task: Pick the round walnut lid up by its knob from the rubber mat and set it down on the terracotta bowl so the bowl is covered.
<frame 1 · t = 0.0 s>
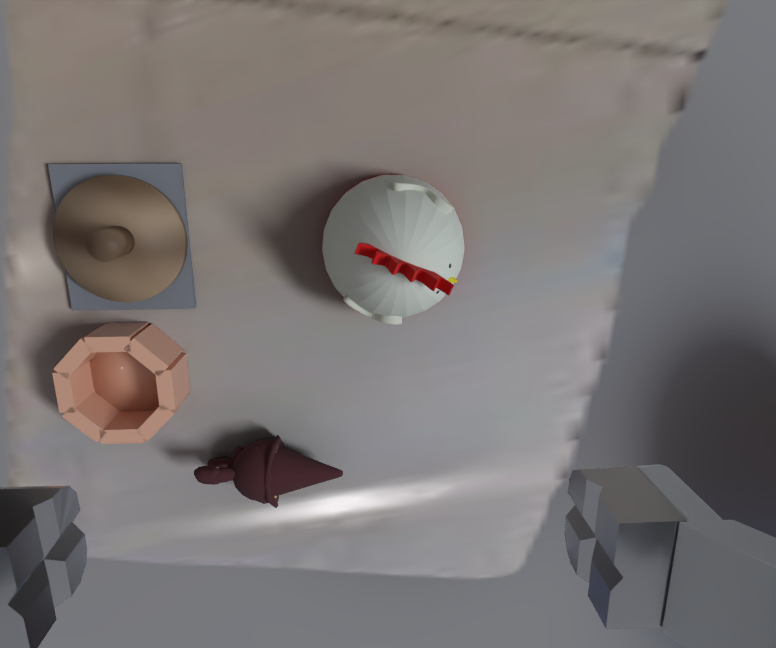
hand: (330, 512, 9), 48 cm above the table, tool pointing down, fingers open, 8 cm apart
lid: (124, 239, 54), point 1 cm above the table, touching mat
mat: (126, 238, 55), on the table
kitchen timer: (392, 245, 56), on the table
bowl: (134, 372, 58), on the table
icecream: (275, 453, 62), on the table
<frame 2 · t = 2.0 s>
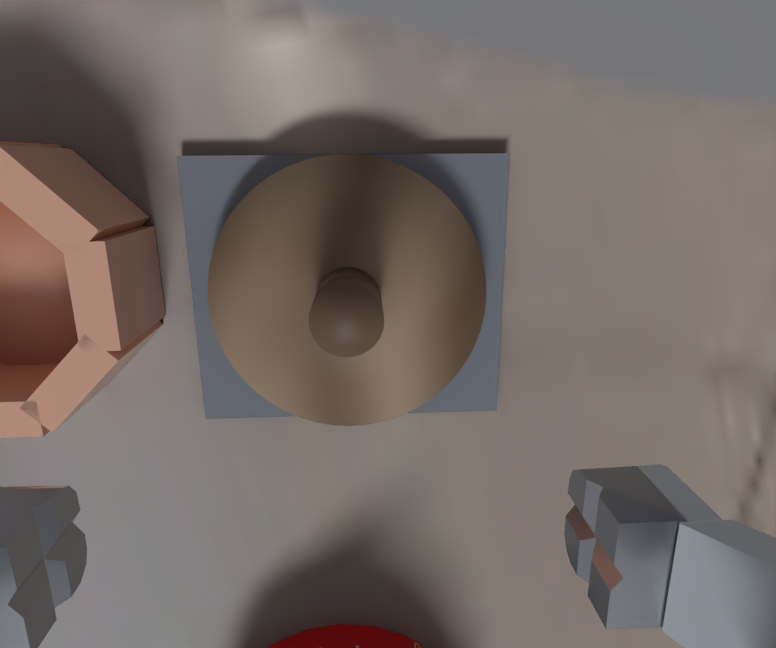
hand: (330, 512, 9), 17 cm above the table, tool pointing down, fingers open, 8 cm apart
lid: (349, 293, 25), point 1 cm above the table, touching mat
mat: (349, 290, 26), on the table
bowl: (35, 274, 25), on the table
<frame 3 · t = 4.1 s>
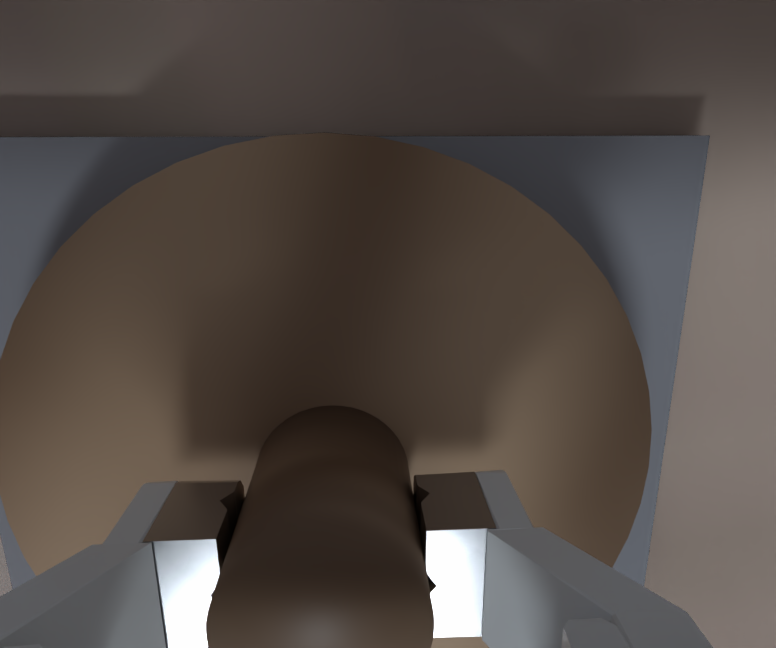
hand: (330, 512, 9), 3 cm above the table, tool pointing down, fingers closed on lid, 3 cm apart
lid: (335, 443, 11), point 1 cm above the table, touching gripper, mat
mat: (335, 430, 12), on the table
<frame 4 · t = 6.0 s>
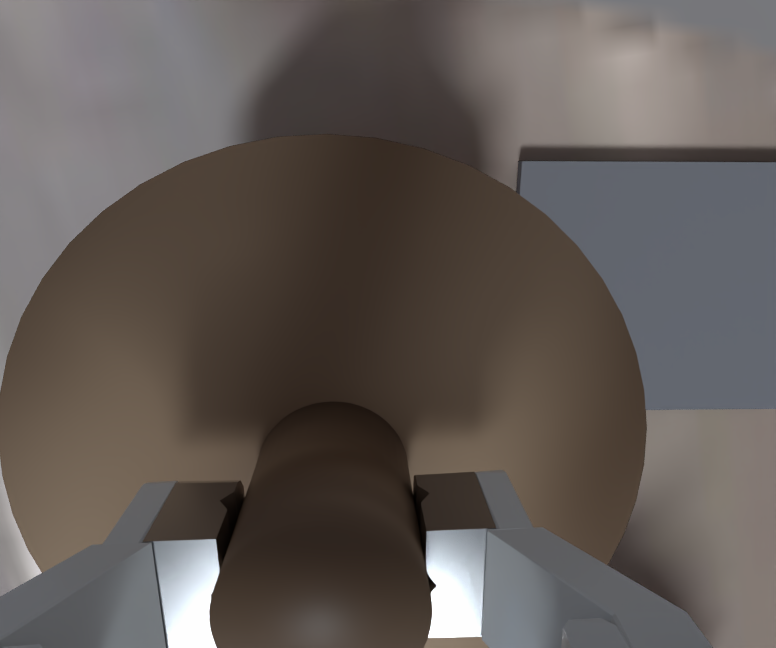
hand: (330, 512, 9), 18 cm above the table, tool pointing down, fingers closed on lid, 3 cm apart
lid: (335, 440, 12), point 15 cm above the table, touching gripper
mat: (653, 290, 27), on the table
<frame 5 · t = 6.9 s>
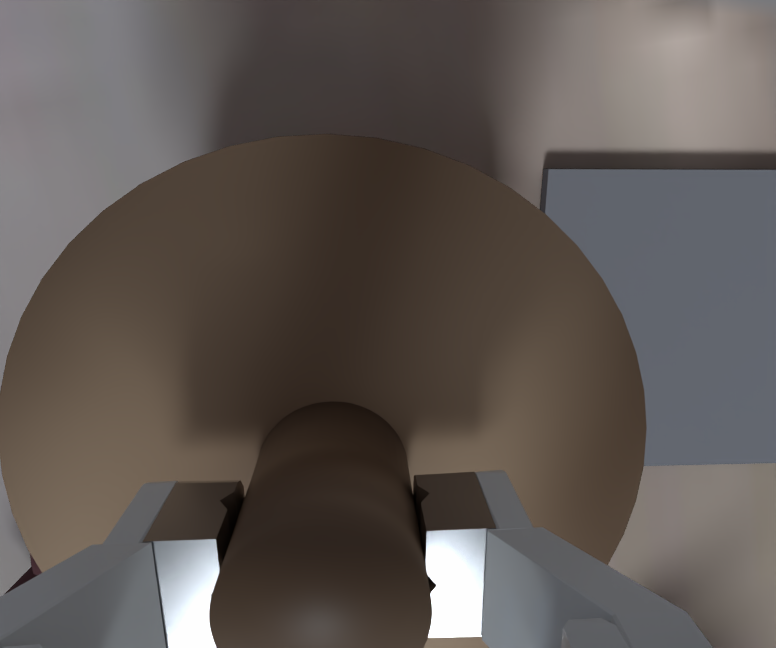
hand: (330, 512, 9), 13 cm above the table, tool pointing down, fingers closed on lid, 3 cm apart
lid: (335, 440, 12), point 10 cm above the table, touching gripper
mat: (702, 324, 22), on the table
icecream: (121, 582, 25), on the table
when the fingers open (9 cm above the table, at t = 7.8 s): lid drops 1 cm, resting on bowl.
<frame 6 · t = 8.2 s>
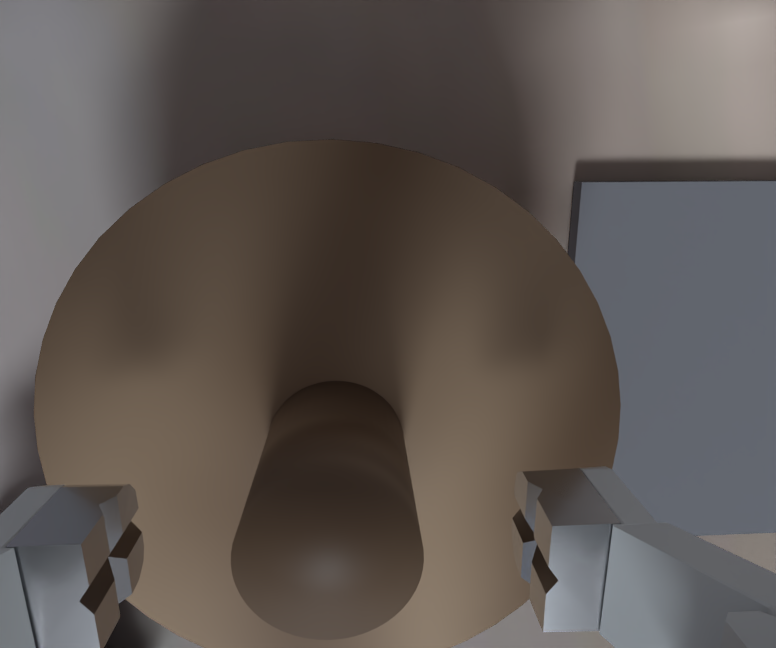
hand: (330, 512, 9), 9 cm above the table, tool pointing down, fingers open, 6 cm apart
lid: (338, 418, 13), point 5 cm above the table, touching bowl
mat: (765, 366, 19), on the table
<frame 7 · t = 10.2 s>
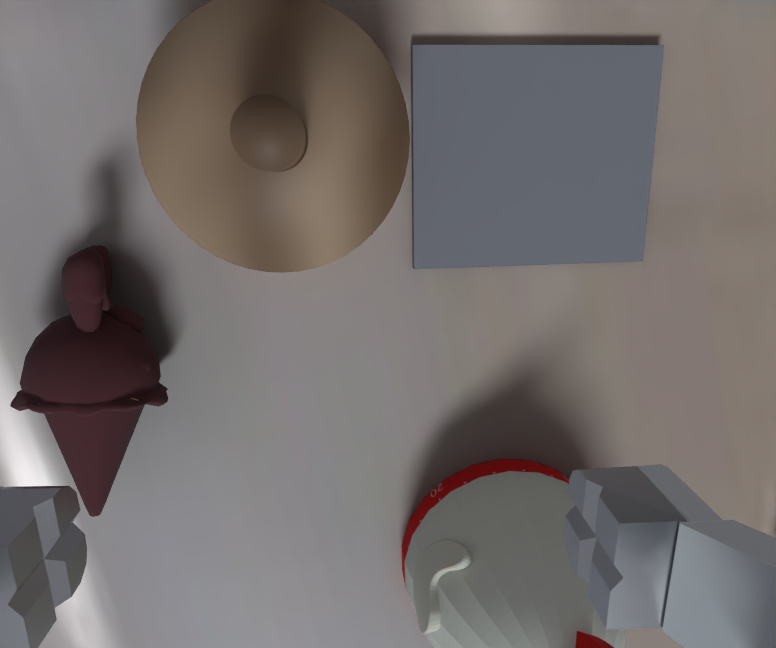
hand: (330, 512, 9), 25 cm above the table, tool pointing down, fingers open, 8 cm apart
lid: (278, 141, 26), point 5 cm above the table, touching bowl
mat: (531, 160, 32), on the table
kitchen timer: (499, 546, 39), on the table
icecream: (119, 363, 33), on the table
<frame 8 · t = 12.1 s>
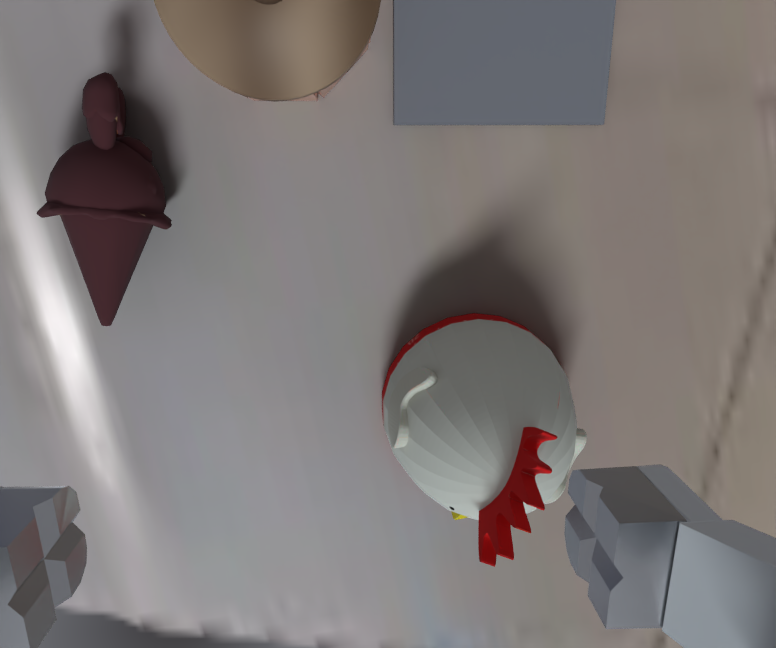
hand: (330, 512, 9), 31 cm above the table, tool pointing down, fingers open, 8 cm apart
mat: (502, 25, 36), on the table
kitchen timer: (471, 399, 43), on the table
icecream: (131, 202, 38), on the table
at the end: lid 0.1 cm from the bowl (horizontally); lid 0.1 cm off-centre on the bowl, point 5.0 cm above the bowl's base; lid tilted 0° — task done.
